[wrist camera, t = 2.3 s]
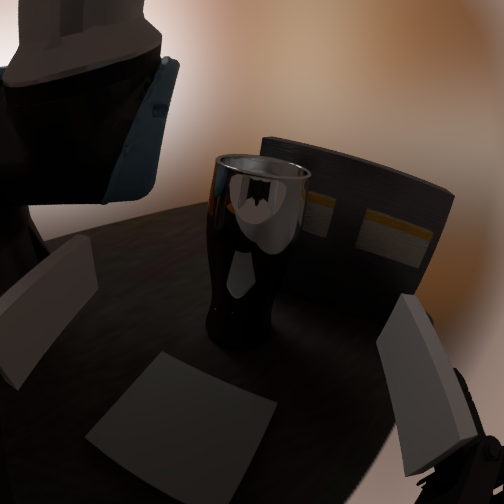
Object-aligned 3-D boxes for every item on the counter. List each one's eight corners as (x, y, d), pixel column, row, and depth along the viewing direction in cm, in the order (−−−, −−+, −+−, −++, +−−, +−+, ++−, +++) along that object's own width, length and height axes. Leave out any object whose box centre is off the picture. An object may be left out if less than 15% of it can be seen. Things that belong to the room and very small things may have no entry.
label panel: (239, 280, 32) (260, 137, 24) (257, 257, 37) (278, 135, 29) (395, 331, 27) (456, 197, 19) (393, 301, 32) (440, 184, 24)
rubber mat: (87, 439, 12) (84, 436, 12) (162, 354, 21) (162, 351, 21) (219, 518, 10) (220, 518, 10) (276, 405, 18) (277, 402, 18)
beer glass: (213, 296, 29) (228, 149, 21) (278, 312, 28) (314, 165, 21) (190, 343, 23) (196, 164, 15) (269, 363, 22) (317, 186, 15)
